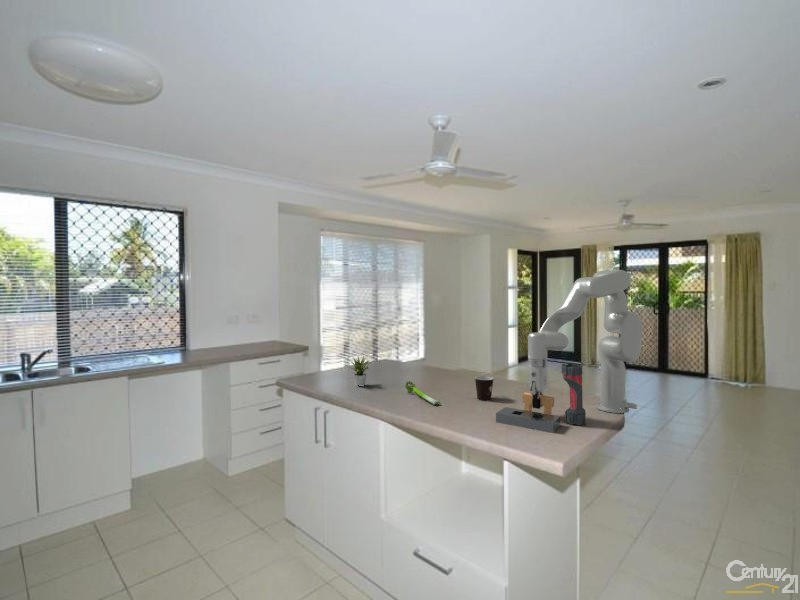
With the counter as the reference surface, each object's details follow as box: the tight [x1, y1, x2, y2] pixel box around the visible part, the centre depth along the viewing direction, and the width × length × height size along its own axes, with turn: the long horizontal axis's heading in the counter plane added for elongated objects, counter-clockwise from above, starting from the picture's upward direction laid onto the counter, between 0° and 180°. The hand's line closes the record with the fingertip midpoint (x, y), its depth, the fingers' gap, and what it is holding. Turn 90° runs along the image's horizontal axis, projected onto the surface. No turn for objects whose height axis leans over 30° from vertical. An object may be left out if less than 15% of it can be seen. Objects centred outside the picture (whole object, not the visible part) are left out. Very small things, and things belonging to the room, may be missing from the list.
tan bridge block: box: [522, 391, 555, 415], centre depth 172 cm, size 12×3×8 cm, turn 55°
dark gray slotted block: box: [495, 406, 561, 434], centre depth 162 cm, size 22×10×4 cm, turn 55°
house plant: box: [349, 355, 372, 386], centre depth 225 cm, size 14×14×16 cm
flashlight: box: [561, 363, 587, 426], centre depth 162 cm, size 8×8×23 cm
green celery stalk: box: [404, 380, 442, 406], centre depth 201 cm, size 6×7×30 cm
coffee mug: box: [474, 375, 494, 402], centre depth 199 cm, size 12×9×10 cm
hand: (537, 406), depth 172 cm, fingers closed on tan bridge block, 3 cm apart
